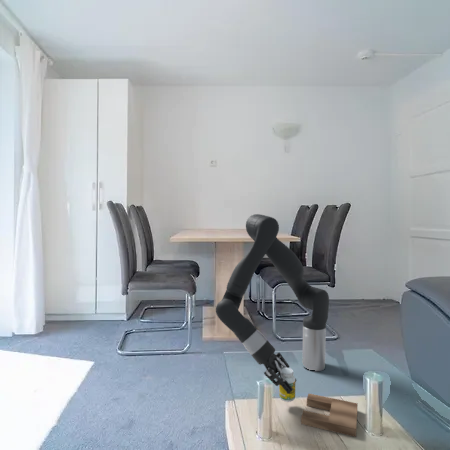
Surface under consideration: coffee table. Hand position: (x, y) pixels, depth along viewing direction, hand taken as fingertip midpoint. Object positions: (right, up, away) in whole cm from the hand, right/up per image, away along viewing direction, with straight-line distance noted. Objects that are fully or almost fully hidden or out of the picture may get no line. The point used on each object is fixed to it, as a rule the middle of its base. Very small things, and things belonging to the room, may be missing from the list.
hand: (292, 386), depth 119 cm
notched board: (+11, -8, -4) cm, 14 cm away
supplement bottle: (-2, -4, +1) cm, 5 cm away
